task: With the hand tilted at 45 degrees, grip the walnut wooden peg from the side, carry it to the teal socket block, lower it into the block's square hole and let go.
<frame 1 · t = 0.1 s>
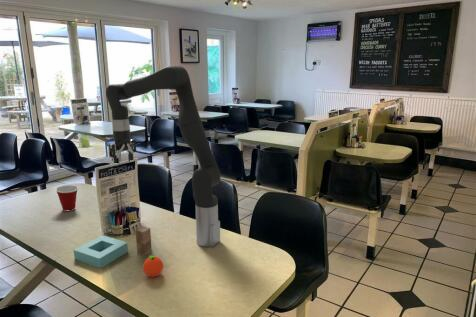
hand: (124, 163, 164), 29 cm above the table, tool pointing down, fingers open, 8 cm apart
plastic cup: (69, 209, 186), on the table
peg: (144, 251, 142), on the table
clementine: (153, 274, 127), on the table
socket block: (101, 255, 140), on the table
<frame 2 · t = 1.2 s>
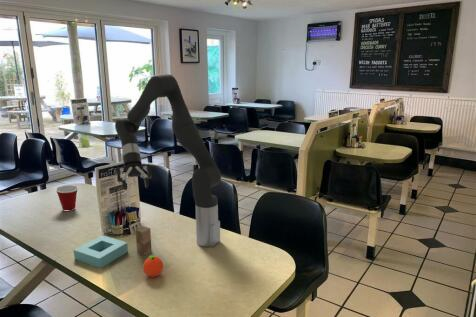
hand: (136, 188, 149), 23 cm above the table, tool tilted 45°, fingers open, 8 cm apart
nothing on the table moved.
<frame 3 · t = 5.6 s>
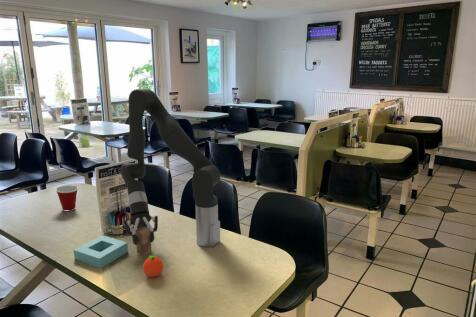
hand: (144, 242, 140), 5 cm above the table, tool tilted 45°, fingers closed on peg, 5 cm apart
peg: (144, 251, 142), on the table, touching gripper
everything else where it was.
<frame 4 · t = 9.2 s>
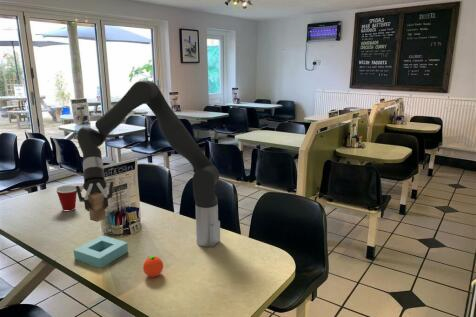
hand: (97, 209, 133), 20 cm above the table, tool tilted 45°, fingers closed on peg, 5 cm apart
peg: (98, 218, 136), point 15 cm above the table, touching gripper
everything else where it was.
when the fingers open (7 cm above the table, at t = 12.9 s): peg drops 2 cm, resting in socket block.
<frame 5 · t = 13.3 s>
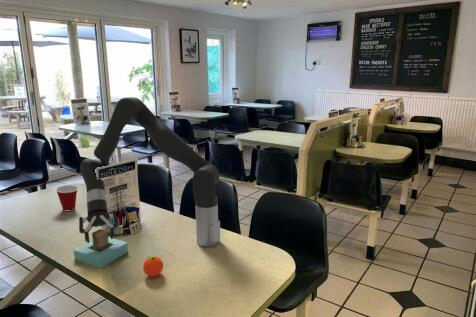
hand: (100, 240, 137), 7 cm above the table, tool tilted 45°, fingers open, 8 cm apart
peg: (102, 255, 140), resting in socket block
everything else where it was.
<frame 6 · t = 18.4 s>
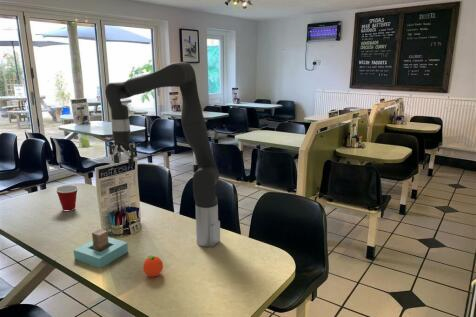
hand: (124, 165, 157), 30 cm above the table, tool pointing down, fingers open, 8 cm apart
nothing on the table moved.
at the end: peg 0.1 cm off-centre on the socket block, point 0.0 cm above the socket block's base; peg tilted 0°; the gripper is holding nothing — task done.
